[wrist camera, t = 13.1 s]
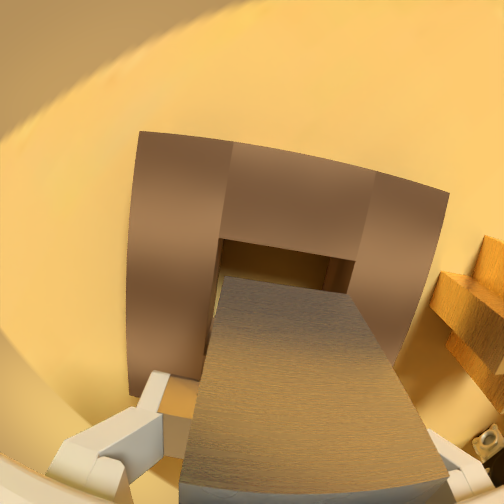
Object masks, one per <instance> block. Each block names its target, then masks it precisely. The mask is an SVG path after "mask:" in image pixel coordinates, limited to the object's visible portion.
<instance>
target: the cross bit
mask: <svg viewBox="0 0 504 504" xmlns="http://www.w3.org/2000/svg"><path fill="white" fill-rule="evenodd" d="M429 307H430V308H432V309H433V310H434V311H435V312H436V313H437V314H438V315H439V316H440V317H441V318H442V319H443V320H444V322H445V323H446V324H447V325H448V326H449V327H450V328H451V329H452V331H451V333H450V336H449V338H448V340H447V343H446V345H445V347H446V348H447V349H448V350H449V351H450V352H451V354H452V355H453V356H454V357H455V358H456V360H457V361H458V362H459V363H460V364H461V366H462V367H463V368H464V369H465V370H466V372H467V373H468V374H469V375H470V377H471V378H472V379H473V380H474V382H475V383H476V384H477V385H478V387H479V388H480V389H481V390H482V392H483V393H484V394H485V395H486V397H487V398H488V399H489V401H490V402H491V403H492V405H493V406H494V407H495V409H496V410H497V411H498V412H499V414H504V241H502V240H499V239H496V238H493V237H490V236H486V235H484V239H483V243H482V246H481V250H480V253H479V257H478V260H477V263H476V266H475V270H474V273H473V276H472V277H471V276H466V275H460V274H455V273H450V272H445V271H441V272H440V275H439V279H438V282H437V285H436V287H435V290H434V293H433V296H432V299H431V302H430V304H429Z"/></svg>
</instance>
